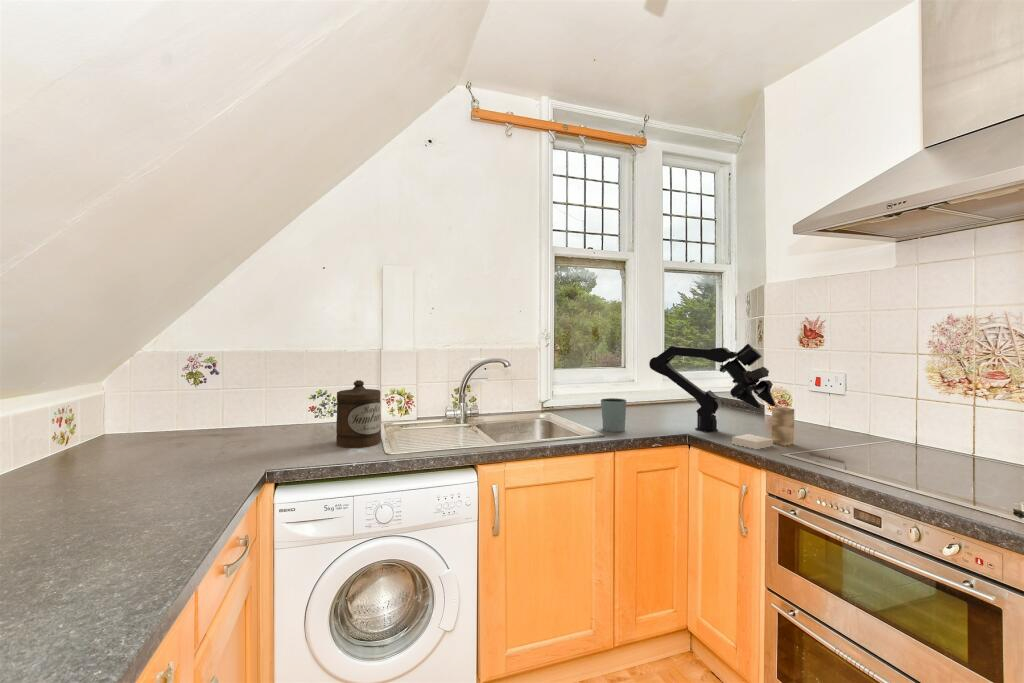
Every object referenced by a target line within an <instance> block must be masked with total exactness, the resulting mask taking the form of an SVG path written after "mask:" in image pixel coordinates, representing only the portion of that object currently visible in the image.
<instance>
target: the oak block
mask: <svg viewBox="0 0 1024 683" xmlns="http://www.w3.org/2000/svg"><path fill="white" fill-rule="evenodd" d="M771 439H773V443H776V444H775V445H777V444H781V445H780V446H782V445H789V446H791V445H790V444H794V443H795V441H794V440H795V408H791V407H790V408H789V407H785V406H784V407H782V406H775V407H772V408H771ZM794 445H795V444H794Z"/></svg>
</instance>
